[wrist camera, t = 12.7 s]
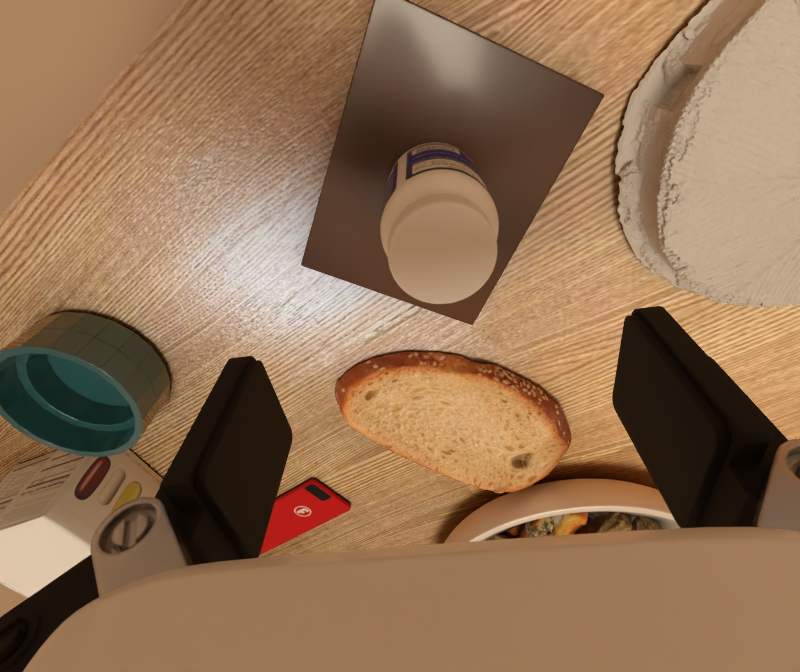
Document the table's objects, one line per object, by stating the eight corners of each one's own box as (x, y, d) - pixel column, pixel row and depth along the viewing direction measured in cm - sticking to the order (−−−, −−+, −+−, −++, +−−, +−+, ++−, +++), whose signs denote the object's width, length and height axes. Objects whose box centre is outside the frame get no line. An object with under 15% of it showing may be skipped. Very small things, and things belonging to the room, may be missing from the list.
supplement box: (221, 524, 50) (185, 614, 42) (134, 548, 53) (86, 635, 45) (109, 428, 41) (39, 518, 34) (15, 464, 45) (-69, 553, 37)
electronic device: (261, 550, 52) (352, 504, 47) (260, 555, 52) (351, 509, 46) (222, 528, 50) (313, 477, 44) (220, 532, 49) (312, 481, 44)
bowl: (683, 422, 38) (737, 500, 32) (720, 580, 53) (762, 656, 47) (386, 509, 47) (381, 585, 41) (488, 625, 62) (496, 693, 55)
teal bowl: (25, 289, 33) (-31, 326, 29) (177, 336, 35) (145, 376, 31) (38, 393, 39) (-6, 435, 35) (167, 427, 41) (139, 470, 37)
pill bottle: (431, 252, 29) (437, 337, 21) (367, 190, 27) (345, 257, 19) (500, 190, 27) (538, 258, 18) (436, 116, 24) (446, 156, 16)
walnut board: (379, -12, 22) (377, -15, 21) (597, 92, 25) (605, 94, 24) (304, 258, 31) (300, 265, 30) (471, 317, 33) (472, 325, 32)
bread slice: (320, 372, 37) (311, 403, 34) (534, 305, 32) (547, 333, 29) (401, 497, 46) (400, 530, 43) (576, 457, 41) (589, 491, 38)
